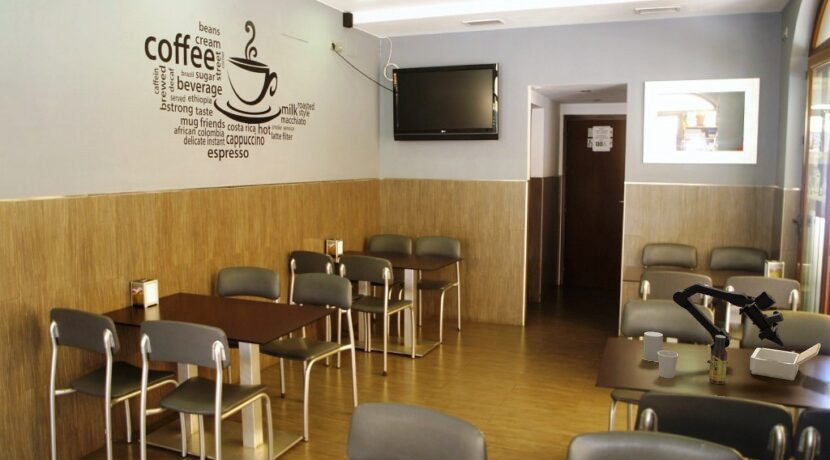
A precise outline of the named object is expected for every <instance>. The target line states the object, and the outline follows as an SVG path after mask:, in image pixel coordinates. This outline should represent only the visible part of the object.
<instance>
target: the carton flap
mask: <svg viewBox="0 0 830 460" xmlns="http://www.w3.org/2000/svg"><path fill="white" fill-rule="evenodd" d="M821 346H822V345H821V343H820V342H819V343H816V344H815V345H813V346H812V347H810V348H808V349H806V350H805V351H803V352H801V353H799V354H800V355H799V358H798V360H797V363H796V364H797V365H799V366H800V365H801V364H803V363H805V362H806V361H808V360H810V359H811V358H814V357H815V356H817V355H818V354H819V351H820V349H821Z"/></svg>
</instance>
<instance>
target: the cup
mask: <svg viewBox="0 0 830 460" xmlns="http://www.w3.org/2000/svg"><path fill="white" fill-rule="evenodd" d="M663 341H664V335H663V333H661V332H655V331H646V332H644V333H643V353H642V355H643V356H642V359H643V358H645V359H647V360H651V361H659V359H658V352H659V351H663V344H664V343H663Z"/></svg>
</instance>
